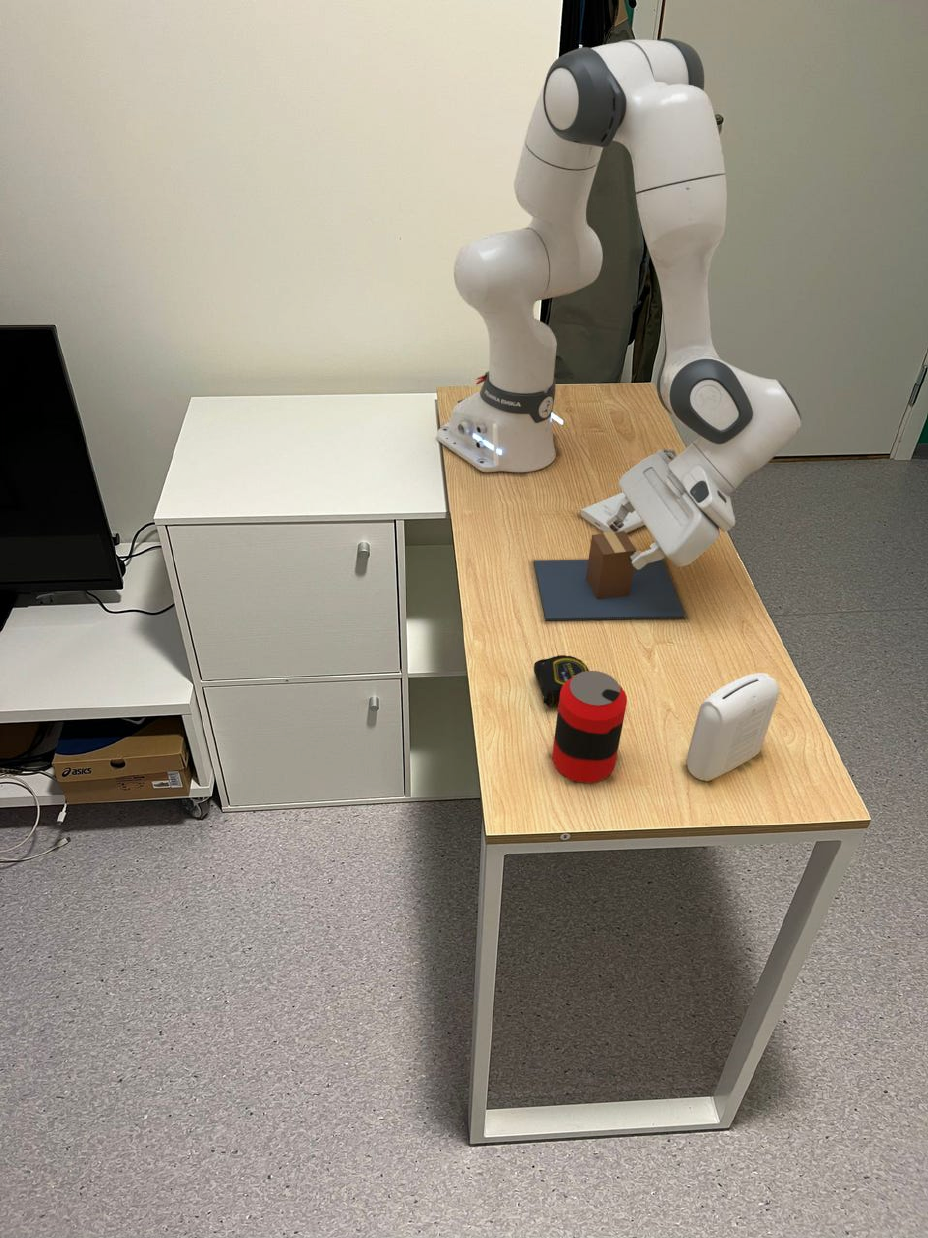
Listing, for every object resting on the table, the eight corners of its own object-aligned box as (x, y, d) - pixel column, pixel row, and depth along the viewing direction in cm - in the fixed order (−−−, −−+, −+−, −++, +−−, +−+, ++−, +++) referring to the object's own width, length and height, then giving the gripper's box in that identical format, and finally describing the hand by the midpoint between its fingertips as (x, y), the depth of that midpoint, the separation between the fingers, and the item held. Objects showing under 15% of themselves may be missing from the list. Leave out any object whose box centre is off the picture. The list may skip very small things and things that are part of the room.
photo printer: (739, 732, 120) (761, 657, 112) (765, 753, 117) (789, 679, 109) (678, 765, 115) (697, 689, 108) (704, 788, 113) (725, 712, 105)
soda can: (597, 794, 111) (610, 721, 104) (540, 767, 114) (549, 694, 107) (625, 754, 117) (639, 681, 109) (569, 729, 120) (580, 656, 112)
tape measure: (531, 675, 127) (533, 654, 125) (582, 672, 128) (584, 650, 125) (541, 712, 122) (544, 690, 119) (594, 708, 123) (597, 686, 120)
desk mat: (545, 621, 136) (546, 618, 136) (533, 563, 147) (533, 560, 146) (684, 618, 137) (685, 615, 137) (662, 561, 148) (662, 558, 148)
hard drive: (669, 515, 158) (614, 539, 152) (634, 493, 163) (579, 516, 157) (670, 507, 157) (615, 531, 151) (635, 485, 162) (580, 507, 156)
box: (585, 579, 143) (591, 533, 138) (617, 575, 144) (624, 530, 139) (597, 599, 139) (603, 554, 134) (629, 595, 140) (637, 550, 135)
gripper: (656, 431, 139) (585, 495, 143) (716, 506, 124) (634, 576, 128) (679, 455, 143) (609, 517, 147) (740, 532, 128) (660, 598, 132)
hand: (621, 545), depth 138 cm, fingers open, 8 cm apart
